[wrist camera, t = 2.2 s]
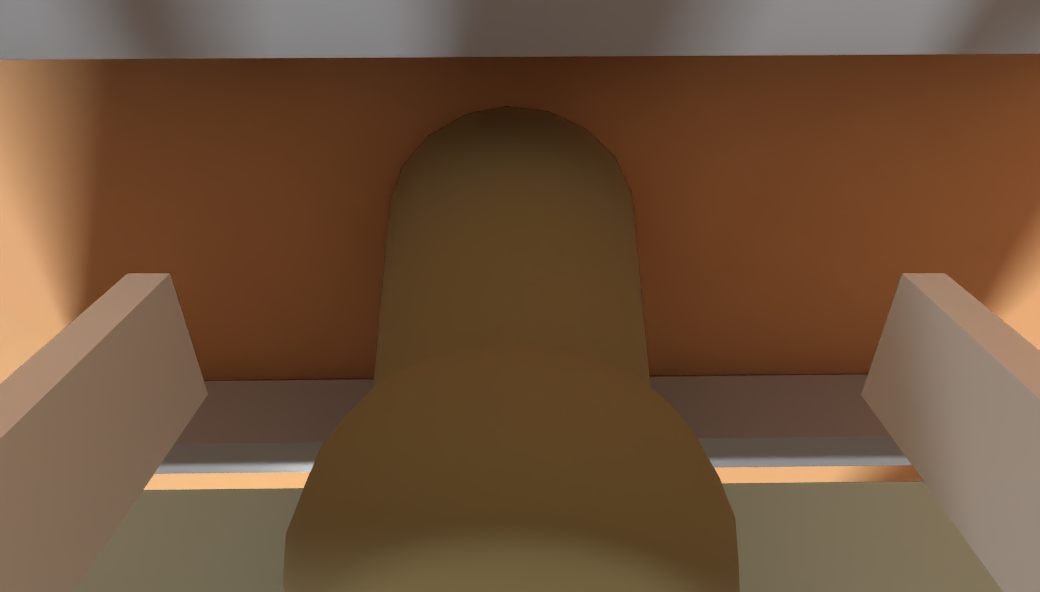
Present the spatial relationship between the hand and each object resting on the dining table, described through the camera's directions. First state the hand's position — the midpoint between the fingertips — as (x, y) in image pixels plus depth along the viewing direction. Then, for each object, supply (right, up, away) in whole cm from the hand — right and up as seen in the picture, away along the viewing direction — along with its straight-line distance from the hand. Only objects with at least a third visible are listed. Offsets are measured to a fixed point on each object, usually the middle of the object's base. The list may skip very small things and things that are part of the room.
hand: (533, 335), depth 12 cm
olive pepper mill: (0, +2, +4) cm, 5 cm away
